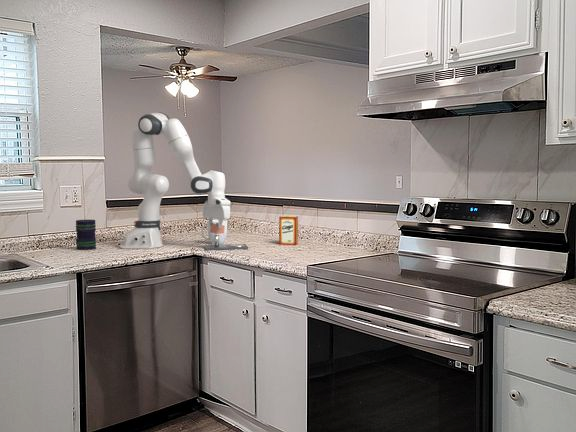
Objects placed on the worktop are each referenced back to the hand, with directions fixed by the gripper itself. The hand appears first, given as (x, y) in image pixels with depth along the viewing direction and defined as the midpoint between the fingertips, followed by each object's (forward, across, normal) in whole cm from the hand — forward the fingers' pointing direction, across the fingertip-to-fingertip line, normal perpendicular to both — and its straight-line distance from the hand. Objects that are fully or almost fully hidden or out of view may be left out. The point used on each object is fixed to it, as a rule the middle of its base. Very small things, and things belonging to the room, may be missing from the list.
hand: (215, 227), depth 297 cm
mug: (+11, -15, +11) cm, 22 cm away
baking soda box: (+9, +13, +41) cm, 44 cm away
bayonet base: (+11, +3, +5) cm, 12 cm away
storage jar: (+14, -43, -51) cm, 68 cm away
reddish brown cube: (+3, 0, +2) cm, 3 cm away
